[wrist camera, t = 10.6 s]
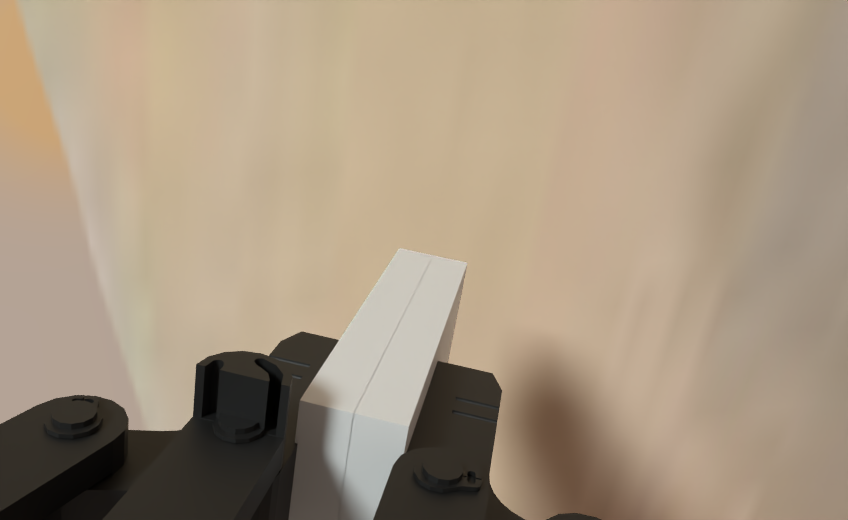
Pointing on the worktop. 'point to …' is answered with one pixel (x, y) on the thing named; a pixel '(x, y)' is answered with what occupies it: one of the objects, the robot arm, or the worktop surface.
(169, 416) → the worktop surface
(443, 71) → the worktop surface
